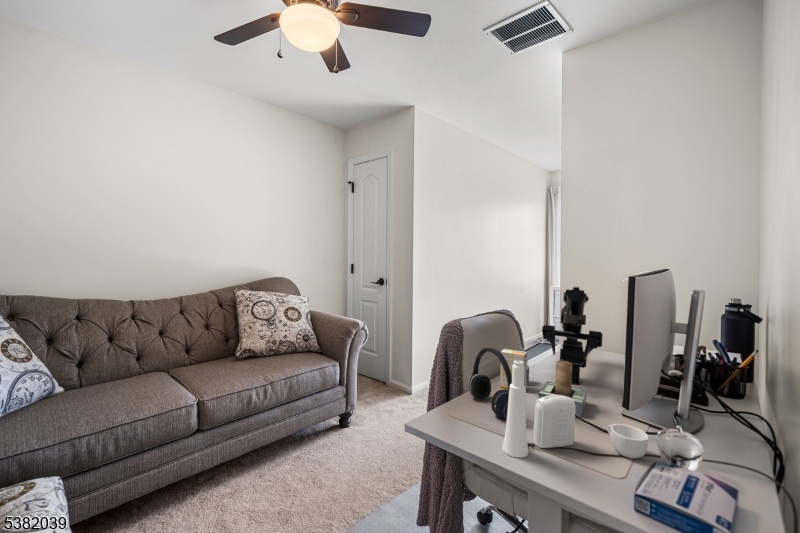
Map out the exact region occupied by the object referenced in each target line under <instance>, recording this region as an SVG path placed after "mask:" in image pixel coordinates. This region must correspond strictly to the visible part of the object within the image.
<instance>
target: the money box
mask: <svg viewBox="0 0 800 533" xmlns="http://www.w3.org/2000/svg"><path fill="white" fill-rule="evenodd" d="M550 395H556V394H555V382H552V381H546V382H545V384H544V385H543V387H541V389H540V390H539V392H538V399H540V398H542V397H545V396H550ZM571 399H573V400H574V402H575V406H576V411H575V415H576V416H577V418H581V419H582V416H583V413H584V410H585V406H586V405H587V389H585V388H579V387H577V386H571ZM576 416H575V417H576Z"/></svg>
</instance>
